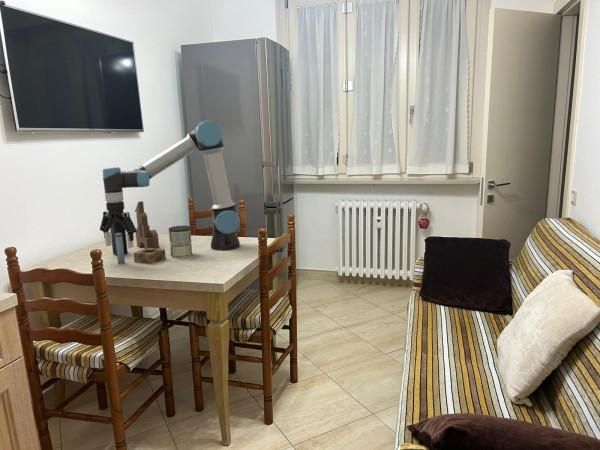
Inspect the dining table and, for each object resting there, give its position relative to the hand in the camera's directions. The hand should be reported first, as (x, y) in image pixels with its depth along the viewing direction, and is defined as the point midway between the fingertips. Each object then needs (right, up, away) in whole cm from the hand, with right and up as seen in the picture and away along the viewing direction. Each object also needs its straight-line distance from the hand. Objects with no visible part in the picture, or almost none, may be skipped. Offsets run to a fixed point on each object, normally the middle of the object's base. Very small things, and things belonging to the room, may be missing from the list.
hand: (119, 246), depth 200 cm
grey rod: (0, -8, +1) cm, 8 cm away
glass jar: (+26, -5, +12) cm, 29 cm away
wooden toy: (+2, -2, +32) cm, 32 cm away
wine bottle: (-7, -5, +19) cm, 21 cm away
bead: (+13, -7, +5) cm, 15 cm away
